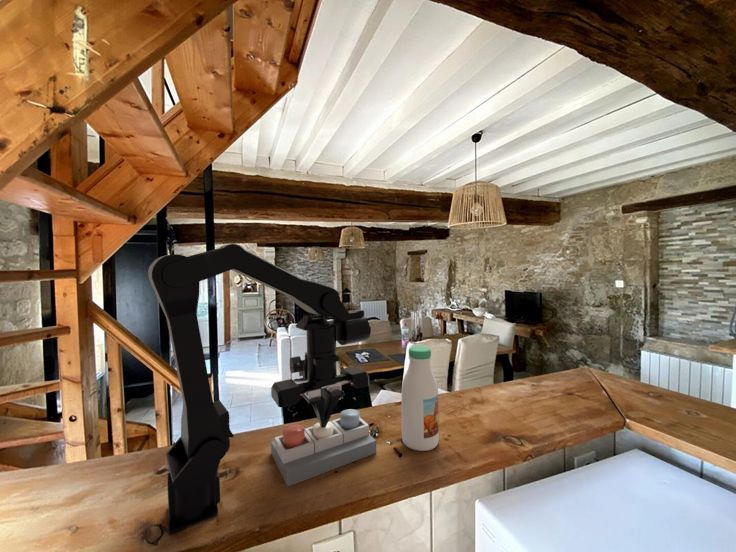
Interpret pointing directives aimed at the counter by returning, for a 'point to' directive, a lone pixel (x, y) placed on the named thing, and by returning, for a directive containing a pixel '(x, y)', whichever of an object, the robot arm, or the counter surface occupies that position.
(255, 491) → the counter surface
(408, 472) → the counter surface
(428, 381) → the milk bottle
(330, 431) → the button ivory
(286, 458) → the console
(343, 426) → the button blue
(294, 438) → the button red
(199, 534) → the counter surface
